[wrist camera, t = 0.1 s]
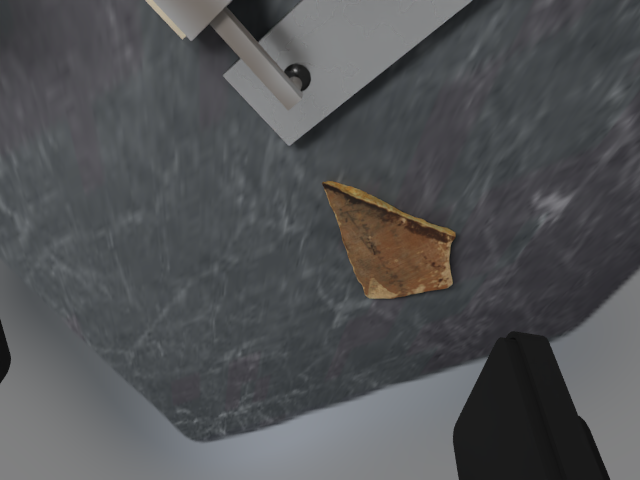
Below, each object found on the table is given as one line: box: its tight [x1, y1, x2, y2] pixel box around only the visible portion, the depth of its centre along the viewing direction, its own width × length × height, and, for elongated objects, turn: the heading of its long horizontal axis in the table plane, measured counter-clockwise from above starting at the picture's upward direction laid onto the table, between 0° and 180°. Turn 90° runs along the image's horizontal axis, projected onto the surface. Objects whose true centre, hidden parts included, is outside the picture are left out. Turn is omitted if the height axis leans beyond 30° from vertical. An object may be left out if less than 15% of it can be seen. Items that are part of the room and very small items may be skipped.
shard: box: [322, 181, 456, 299], centre depth 45 cm, size 13×9×2 cm
